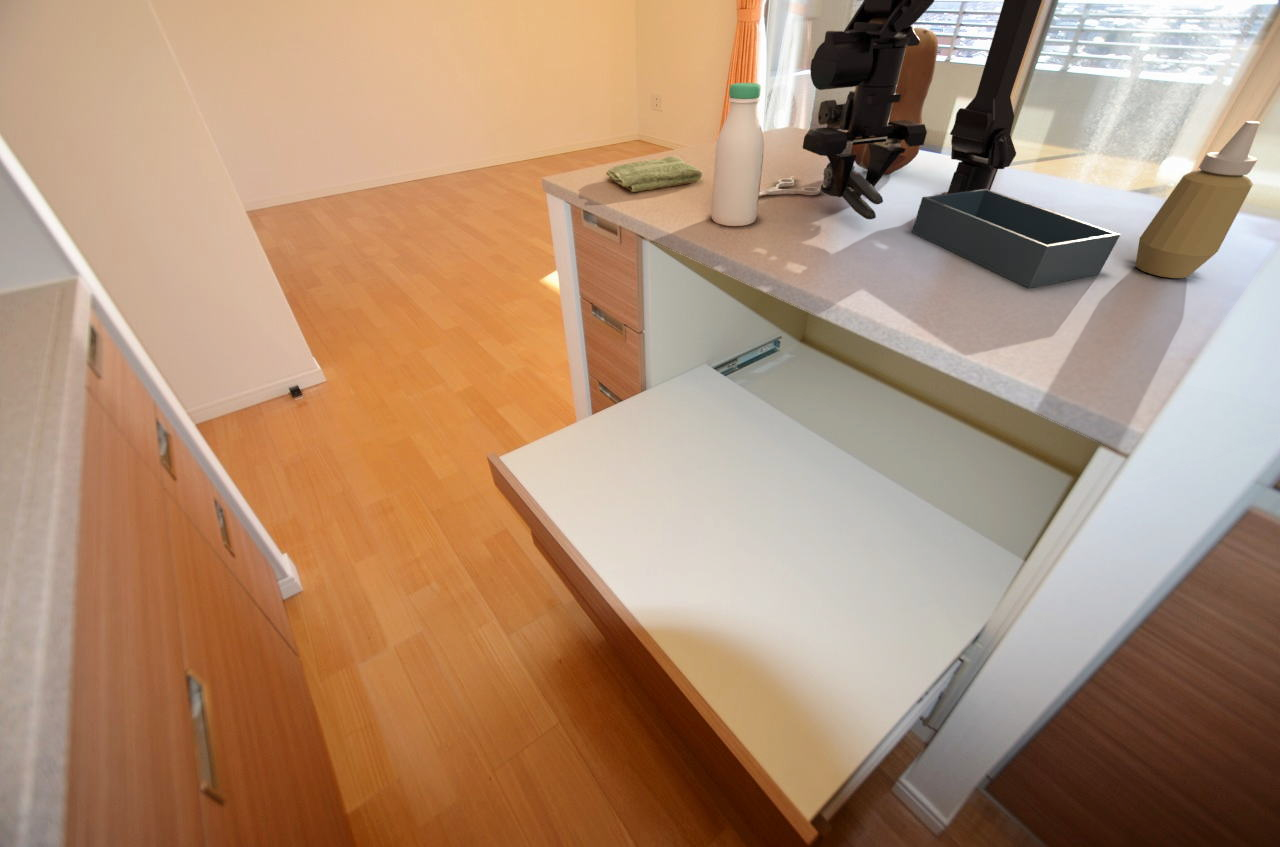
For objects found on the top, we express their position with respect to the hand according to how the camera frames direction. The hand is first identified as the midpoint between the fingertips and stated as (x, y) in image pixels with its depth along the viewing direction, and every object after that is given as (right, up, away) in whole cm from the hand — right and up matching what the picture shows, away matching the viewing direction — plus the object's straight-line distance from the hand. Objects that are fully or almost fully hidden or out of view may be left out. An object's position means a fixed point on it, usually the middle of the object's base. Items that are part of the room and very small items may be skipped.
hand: (852, 194), depth 89 cm
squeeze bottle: (+36, -17, -16) cm, 43 cm away
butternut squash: (+16, +16, +26) cm, 34 cm away
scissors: (-10, +6, +15) cm, 19 cm away
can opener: (0, -1, +1) cm, 2 cm away
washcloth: (-33, +13, +24) cm, 42 cm away
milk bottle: (-19, -3, +4) cm, 20 cm away
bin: (+18, -13, -10) cm, 24 cm away
